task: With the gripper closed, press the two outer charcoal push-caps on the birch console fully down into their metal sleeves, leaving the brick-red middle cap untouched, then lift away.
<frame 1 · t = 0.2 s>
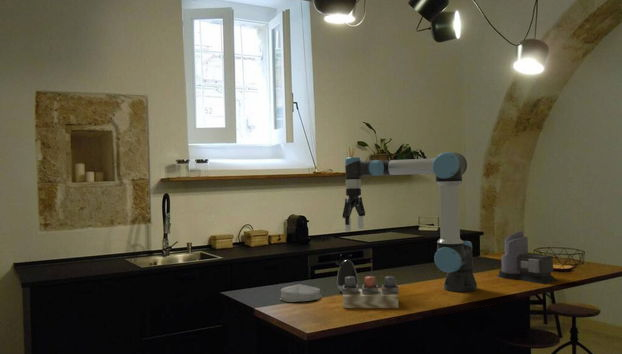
hand: (354, 230, 275), 28 cm above the counter, tool pointing down, fingers open, 13 cm apart
middle cap: (370, 281, 235), point 9 cm above the counter, slide at 0.0 cm
juicer: (524, 278, 282), on the counter
cap 1: (350, 281, 236), point 9 cm above the counter, slide at 0.0 cm
console: (370, 303, 235), on the counter
food container: (300, 299, 251), on the counter
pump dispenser: (347, 291, 261), on the counter
cap 2: (389, 281, 234), point 9 cm above the counter, slide at 0.0 cm
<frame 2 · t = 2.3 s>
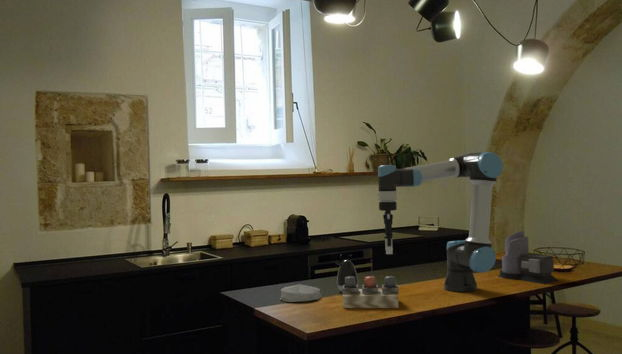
hand: (388, 252, 234), 22 cm above the counter, tool pointing down, fingers open, 11 cm apart
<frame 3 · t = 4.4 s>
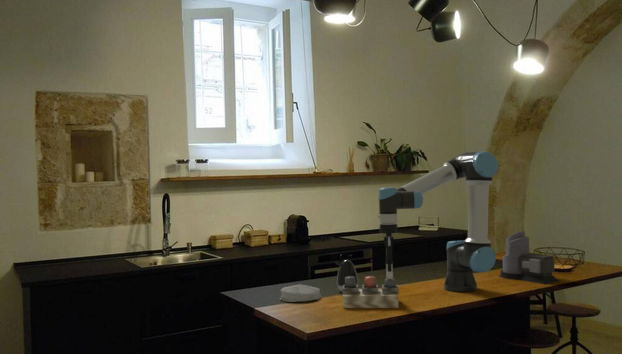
hand: (389, 278, 234), 11 cm above the counter, tool pointing down, fingers closed
cap 2: (390, 283, 234), point 9 cm above the counter, slide at 1.0 cm, touching gripper
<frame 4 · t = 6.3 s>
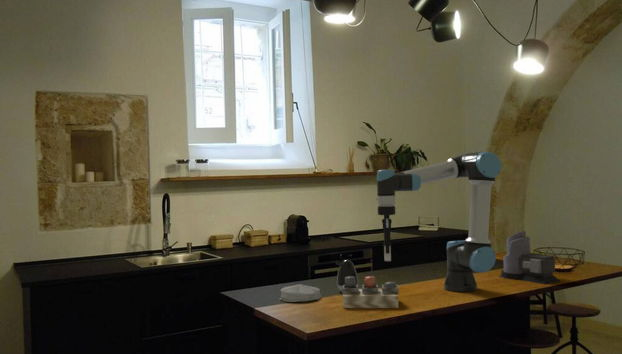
hand: (387, 260, 234), 19 cm above the counter, tool pointing down, fingers closed
cap 2: (390, 287, 234), point 7 cm above the counter, slide at 2.5 cm, touching console
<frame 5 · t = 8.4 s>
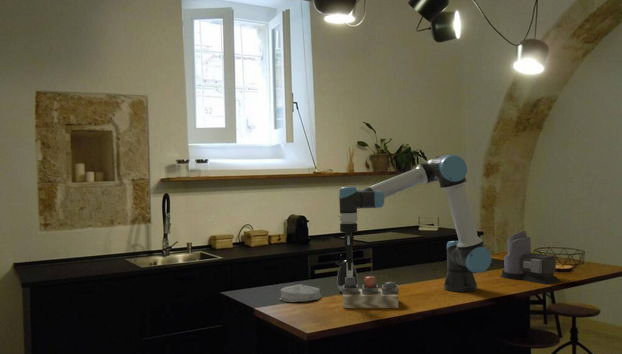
hand: (349, 277, 236), 12 cm above the counter, tool pointing down, fingers closed
cap 1: (350, 282, 236), point 9 cm above the counter, slide at 0.3 cm, touching gripper
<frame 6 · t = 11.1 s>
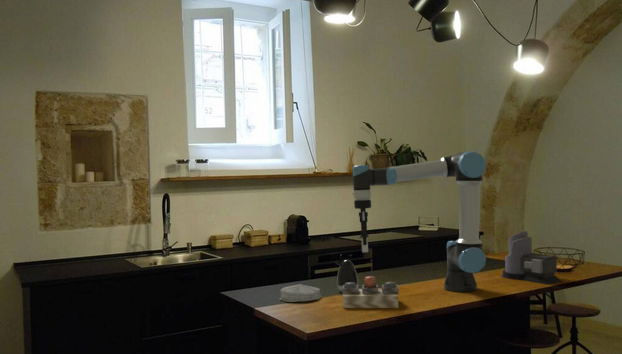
hand: (365, 251, 245), 21 cm above the counter, tool pointing down, fingers closed
cap 1: (350, 287, 236), point 7 cm above the counter, slide at 2.5 cm, touching console
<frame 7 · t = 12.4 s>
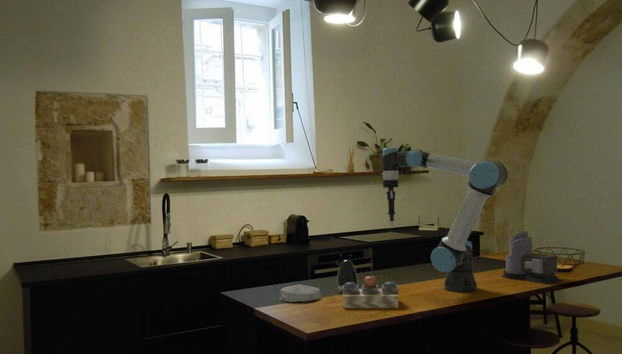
hand: (391, 227, 268), 29 cm above the counter, tool pointing down, fingers closed
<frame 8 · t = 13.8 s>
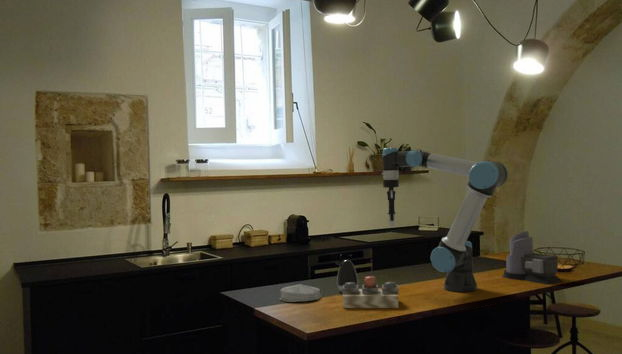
hand: (392, 227, 268), 29 cm above the counter, tool pointing down, fingers closed
at the end: cap 2 slide at 2.5 cm; cap 1 slide at 2.5 cm; middle cap slide at 0.0 cm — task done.
